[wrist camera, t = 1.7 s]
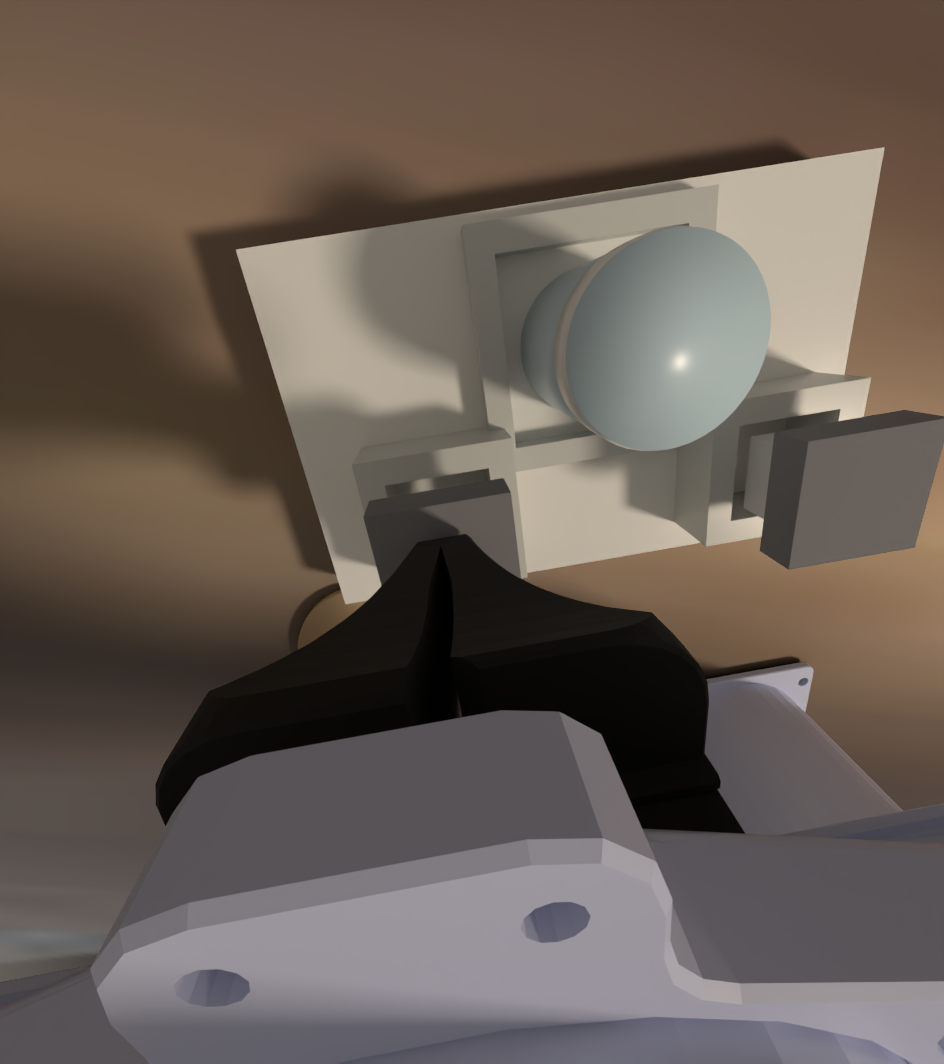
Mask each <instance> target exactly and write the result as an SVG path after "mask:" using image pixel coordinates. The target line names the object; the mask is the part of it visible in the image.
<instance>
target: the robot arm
mask: <svg viewBox="0 0 944 1064" xmlns="http://www.w3.org/2000/svg"><path fill="white" fill-rule="evenodd" d="M812 677H813V668H812V667H811V666H810V665H809V664H807V663H805V662H800V663H794V664H789V665H783V666H777V667H772V668H766V669H761V670H755V671H750V672H744V673H738V674H733V675H727V676H722V677H716V678H711V679H706V678H705V676H704V674H703V672H702V670H701V668H700V666H699V664H698V663H697V661H696V660H695V659H694V658H693V657H692V655H691V654H690V653H689V652H688V650H687V649H686V648H685V647H684V645H683V644H682V643H681V642H680V641H679V640H678V639H677V638H676V636H675V635H674V634H673V633H672V632H671V631H670V630H669V629H668V628H667V627H666V626H665V625H664V624H663V623H662V622H661V621H660V620H658V618H657V617H656V616H655V615H654V614H653V613H652V612H643V611H635V610H627V609H618V608H610V607H604V606H599V605H594V604H590V603H585V602H581V601H577V600H573V599H570V598H566V597H563V596H560V595H557V594H555V593H552V592H549V591H546V590H544V589H541V588H539V587H536V586H534V585H532V584H530V583H528V582H526V581H524V580H522V579H520V578H518V577H517V576H515V575H513V574H512V573H510V572H509V571H507V570H506V569H504V568H503V567H502V566H500V565H499V564H498V563H496V562H495V561H494V560H493V559H492V558H490V557H489V556H488V555H487V554H486V553H485V552H484V551H483V550H482V549H481V548H480V547H479V546H478V545H477V544H476V543H475V542H474V541H473V540H472V538H471V537H470V536H468V535H467V534H462V535H456V536H450V537H445V538H439V539H433V540H427V541H421V542H417V543H416V545H415V546H414V547H413V549H412V550H411V551H410V553H409V554H408V555H407V557H406V558H405V559H404V560H403V562H402V563H401V564H400V566H399V567H398V568H397V569H396V571H395V572H394V573H393V574H392V575H391V577H390V578H389V579H388V580H387V581H386V582H385V583H384V584H383V585H382V586H381V587H380V588H379V589H378V590H377V592H376V593H375V594H374V595H373V596H372V597H371V598H370V599H369V600H367V601H366V602H365V603H364V604H363V605H362V606H361V607H359V608H358V609H357V610H356V611H355V612H353V613H352V614H351V615H350V616H349V617H347V618H346V619H345V620H343V621H342V622H340V623H339V624H338V625H336V626H335V627H333V628H332V629H330V630H329V631H327V632H326V633H324V634H323V635H321V636H320V637H318V638H317V639H316V640H314V641H312V642H311V643H309V644H307V645H306V646H304V647H302V648H300V649H299V650H297V651H295V652H293V653H292V654H290V655H288V656H286V657H284V658H282V659H280V660H278V661H276V662H274V663H272V664H270V665H268V666H266V667H264V668H262V669H260V670H258V671H255V672H253V673H251V674H249V675H246V676H244V677H242V678H239V679H237V680H235V681H233V682H230V683H228V684H226V685H223V686H221V687H219V688H216V689H214V690H211V691H209V692H208V694H207V695H206V697H205V698H204V700H203V701H202V703H201V705H200V706H199V708H198V709H197V711H196V713H195V714H194V716H193V718H192V719H191V721H190V723H189V724H188V726H187V727H186V729H185V731H184V732H183V734H182V736H181V737H180V739H179V740H178V742H177V744H176V745H175V747H174V749H173V750H172V752H171V754H170V755H169V757H168V758H167V760H166V762H165V763H164V765H163V768H162V770H161V772H160V775H159V777H158V780H157V782H156V806H157V808H158V810H159V813H160V815H161V817H162V819H163V822H164V824H165V826H166V827H165V829H164V830H163V832H162V834H161V836H160V838H159V840H158V842H157V844H156V846H155V847H154V849H153V851H152V853H151V855H150V857H149V859H148V861H147V862H146V864H145V866H144V868H143V870H142V872H141V874H140V876H139V878H138V879H137V881H136V883H135V885H134V887H133V889H132V891H131V893H130V895H129V896H128V898H127V900H126V902H125V904H124V906H123V908H122V910H121V911H120V913H119V915H118V917H117V919H116V921H115V923H114V925H113V927H112V928H111V930H110V932H109V934H108V936H107V938H106V940H105V942H104V943H103V945H102V947H101V949H100V951H99V953H98V955H97V957H96V959H95V960H94V962H93V964H92V965H88V966H83V967H78V968H72V969H67V970H62V971H57V972H52V973H46V974H41V975H36V976H30V977H26V978H20V979H14V980H9V981H4V982H0V1064H944V803H943V804H937V805H932V806H927V807H921V808H916V809H911V810H906V811H903V810H902V809H901V808H900V807H899V806H898V805H897V804H896V803H895V802H894V801H893V800H892V799H891V798H890V797H889V796H888V795H887V794H886V793H885V792H884V791H883V790H882V789H881V788H880V787H879V786H878V785H877V784H876V783H875V782H874V781H873V780H872V779H871V778H870V777H869V776H868V775H867V774H866V773H865V772H864V771H863V770H862V769H861V768H860V767H859V766H858V765H857V764H856V763H855V762H854V761H853V760H852V759H851V758H850V757H849V756H848V755H847V754H846V753H845V752H844V751H843V750H842V749H841V748H840V747H839V746H838V745H837V744H836V743H835V742H834V741H833V740H832V739H831V738H830V737H829V736H828V735H827V734H826V733H825V732H824V731H823V730H822V729H821V728H820V727H819V726H818V725H817V724H816V723H815V722H814V721H813V720H812V719H811V718H810V717H809V716H808V715H807V714H806V713H805V711H806V706H807V701H808V696H809V691H810V686H811V682H812ZM459 701H460V706H461V711H462V716H463V717H461V718H459Z"/></svg>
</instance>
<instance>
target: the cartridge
mask: <svg viewBox="0 0 944 1064" xmlns="http://www.w3.org/2000/svg"><path fill="white" fill-rule="evenodd" d="M770 328H771V310H770V301H769V296H768V291H767V287H766V285H765V282H764V279H763V276H762V274H761V272H760V270H759V269H758V267H757V265H756V263H755V262H754V261H753V259H752V258H751V257H750V255H749V254H748V253H747V252H746V251H745V250H744V249H743V248H742V247H741V246H740V245H739V244H738V243H736V242H735V241H733V240H732V239H730V238H729V237H727V236H725V235H723V234H721V233H718V232H716V231H713V230H709V229H705V228H700V227H693V226H672V227H665V228H661V229H657V230H653V231H651V232H648V233H646V234H643V235H641V236H638V237H636V238H634V239H632V240H630V241H628V242H625V243H623V244H622V245H620V246H618V247H616V248H614V249H613V250H611V251H610V252H608V253H607V254H605V255H603V256H601V257H599V258H596V259H594V260H592V261H590V262H588V263H585V264H583V265H581V266H579V267H576V268H574V269H572V270H570V271H568V272H566V273H564V274H562V275H560V276H559V277H557V278H556V279H554V280H553V281H552V282H550V283H549V284H548V285H547V286H546V287H545V288H544V289H543V290H542V291H541V293H540V294H539V295H538V296H537V298H536V299H535V301H534V302H533V304H532V306H531V307H530V310H529V312H528V314H527V316H526V319H525V322H524V325H523V330H522V334H521V345H520V346H521V359H522V365H523V368H524V372H525V374H526V377H527V379H528V381H529V383H530V384H531V386H532V388H533V389H534V390H535V392H536V393H537V394H538V395H539V396H540V397H541V398H542V399H543V400H544V401H546V402H547V403H548V404H550V405H551V406H553V407H555V408H556V409H558V410H560V411H562V412H563V413H565V414H567V415H568V416H570V417H572V418H574V419H575V420H577V421H579V422H580V423H582V424H583V425H584V426H585V427H586V428H588V429H589V430H591V431H592V432H594V433H595V434H597V435H598V436H600V437H602V438H603V439H605V440H607V441H609V442H611V443H613V444H615V445H618V446H621V447H624V448H627V449H632V450H638V451H658V450H667V449H672V448H676V447H680V446H682V445H685V444H688V443H691V442H693V441H695V440H697V439H699V438H701V437H703V436H704V435H706V434H707V433H709V432H710V431H712V430H714V429H715V428H716V427H717V426H719V425H720V424H721V423H722V422H723V421H725V420H726V419H727V418H728V417H729V416H730V415H731V414H732V413H733V412H734V411H735V410H736V408H737V407H738V406H739V405H740V403H741V402H742V401H743V400H744V398H745V397H746V395H747V394H748V392H749V391H750V389H751V388H752V386H753V384H754V382H755V380H756V378H757V376H758V374H759V372H760V369H761V367H762V364H763V362H764V359H765V355H766V351H767V348H768V343H769V337H770Z"/></svg>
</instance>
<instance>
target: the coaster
mask: <svg viewBox="0 0 944 1064" xmlns="http://www.w3.org/2000/svg"><path fill="white" fill-rule="evenodd" d="M365 602H366V601H362V602H356V603H350V604H345V601H344V598H343V595H342V592H341V589H340V590H337V591H335V592H333V593H331V594H329V595H327V596H326V597H324V598H323V599H322V600H320V601H319V602H318V603H317V604H316V605H315V606H314V607H313V608H312V610H311V611H310V612H309V614H308V615H307V617H306V619H305V621H304V623H303V626H302V628H301V631H300V633H299V638H298V650H299V649H300V648H302V647H304V646H306V645H307V644H309V643H311V642H312V641H314V640H316V639H317V638H318V637H320V636H321V635H323V634H324V633H326V632H327V631H329V630H330V629H332V628H333V627H335V626H336V625H338V624H339V623H340V622H342V621H343V620H345V619H346V618H347V617H349V616H350V615H351V614H352V613H353V612H355V611H356V610H357V609H358V608H359V607H361V606H362V605H363V604H364V603H365Z"/></svg>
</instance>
